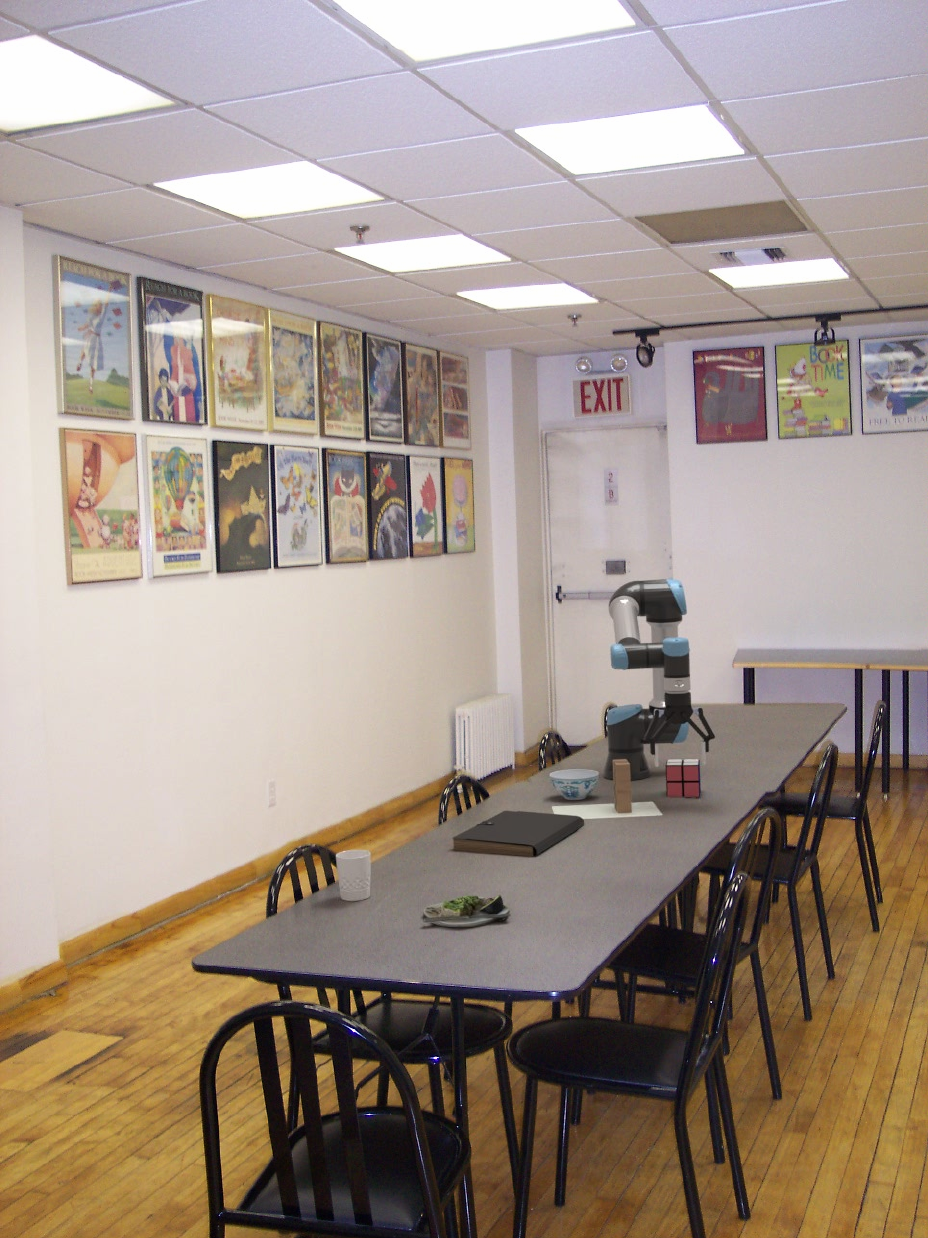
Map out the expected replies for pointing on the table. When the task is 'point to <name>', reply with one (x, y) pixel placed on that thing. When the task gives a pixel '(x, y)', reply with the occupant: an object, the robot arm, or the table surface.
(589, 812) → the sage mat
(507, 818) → the file folder
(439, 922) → the salad plate
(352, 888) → the white cup
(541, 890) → the table surface
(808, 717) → the table surface
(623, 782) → the walnut block
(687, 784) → the puzzle cube
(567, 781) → the chinaware
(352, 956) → the table surface
